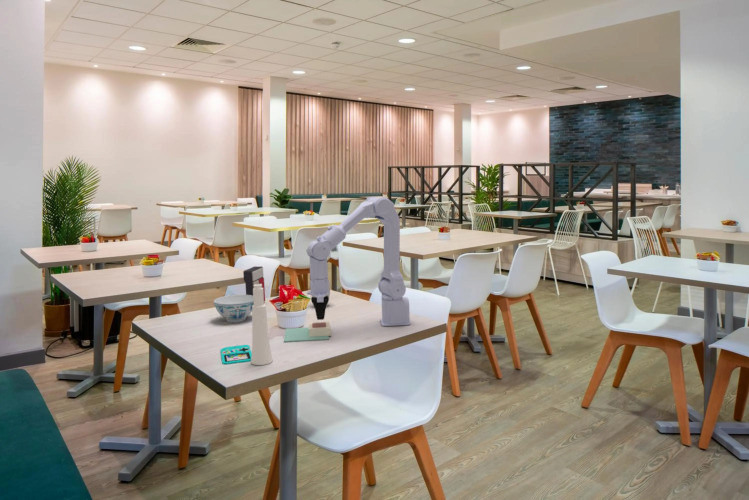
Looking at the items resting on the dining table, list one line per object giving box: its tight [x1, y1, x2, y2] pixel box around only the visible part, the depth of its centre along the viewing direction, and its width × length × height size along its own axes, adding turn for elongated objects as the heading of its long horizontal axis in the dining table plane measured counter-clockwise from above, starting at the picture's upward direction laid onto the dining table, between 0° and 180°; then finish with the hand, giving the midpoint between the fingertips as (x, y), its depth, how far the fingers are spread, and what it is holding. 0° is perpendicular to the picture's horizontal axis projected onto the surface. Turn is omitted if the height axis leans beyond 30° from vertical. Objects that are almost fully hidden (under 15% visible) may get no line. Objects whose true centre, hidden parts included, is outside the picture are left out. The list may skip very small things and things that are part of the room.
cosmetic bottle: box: [250, 284, 274, 366], centre depth 150 cm, size 6×6×22 cm
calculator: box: [243, 266, 266, 303], centre depth 219 cm, size 11×4×15 cm, turn 168°
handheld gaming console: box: [220, 344, 252, 366], centre depth 158 cm, size 8×1×15 cm
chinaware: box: [213, 294, 254, 323], centre depth 197 cm, size 15×15×8 cm
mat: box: [283, 326, 330, 343], centre depth 177 cm, size 14×14×1 cm
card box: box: [308, 320, 332, 337], centre depth 177 cm, size 3×8×7 cm
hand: (320, 319), depth 177 cm, fingers closed
